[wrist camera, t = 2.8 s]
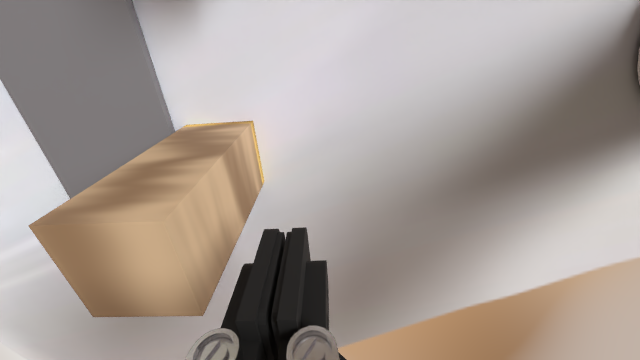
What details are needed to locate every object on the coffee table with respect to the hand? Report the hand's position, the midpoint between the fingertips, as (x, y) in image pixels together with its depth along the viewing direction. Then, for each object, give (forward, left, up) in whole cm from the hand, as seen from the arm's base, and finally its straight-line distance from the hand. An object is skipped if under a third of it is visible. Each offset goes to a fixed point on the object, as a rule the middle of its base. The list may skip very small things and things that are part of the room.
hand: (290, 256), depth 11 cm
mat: (+15, 0, -11) cm, 19 cm away
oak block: (+6, 0, -11) cm, 13 cm away
